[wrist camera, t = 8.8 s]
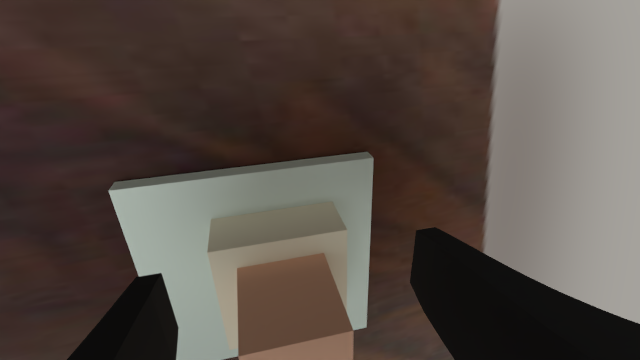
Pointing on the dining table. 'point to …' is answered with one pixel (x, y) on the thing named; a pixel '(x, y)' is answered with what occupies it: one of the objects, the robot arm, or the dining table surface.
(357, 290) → the base plate
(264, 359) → the top brick
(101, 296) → the dining table surface
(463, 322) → the robot arm
